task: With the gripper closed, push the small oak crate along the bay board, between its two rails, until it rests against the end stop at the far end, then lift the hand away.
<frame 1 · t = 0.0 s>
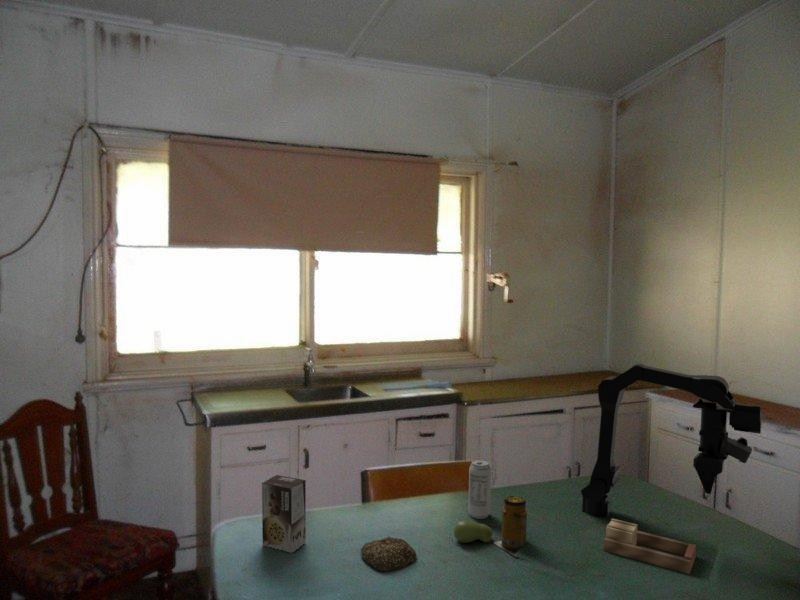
hand: (710, 487, 150), 15 cm above the table, fingers open, 9 cm apart
bay: (649, 558, 143), on the table
coffee box: (284, 545, 147), on the table
bread roll: (389, 558, 142), on the table
energy drink can: (479, 515, 166), on the table
pear: (473, 541, 151), on the table
crate: (621, 535, 146), point 4 cm above the table, slide at 0.0 cm
condiment: (515, 548, 148), on the table
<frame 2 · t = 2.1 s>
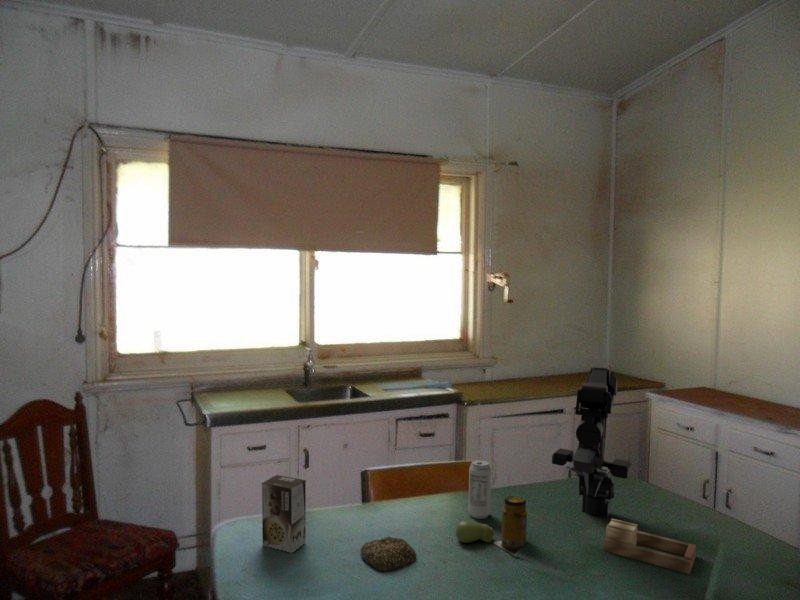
hand: (590, 495, 150), 12 cm above the table, fingers closed
nothing on the table moved.
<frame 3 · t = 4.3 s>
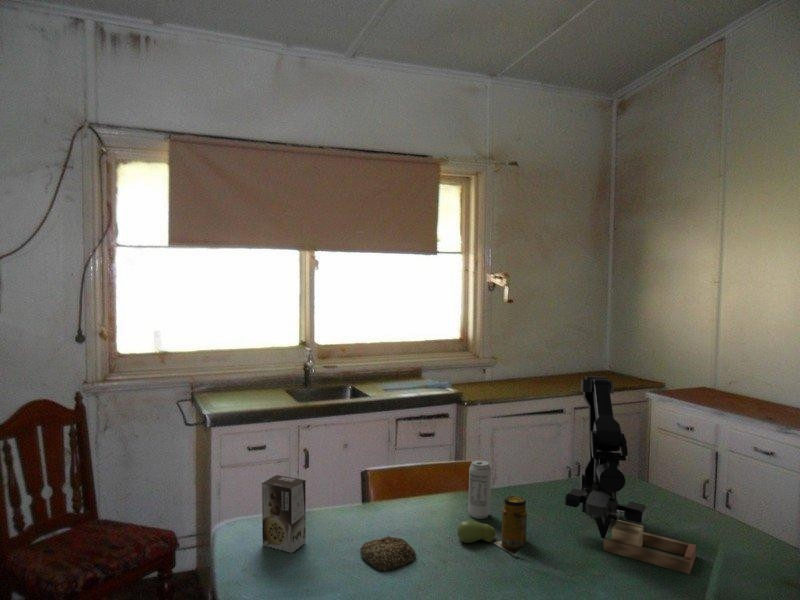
hand: (603, 538, 149), 2 cm above the table, fingers closed
crate: (627, 536, 146), point 4 cm above the table, slide at 1.4 cm, touching gripper
everything else where it was.
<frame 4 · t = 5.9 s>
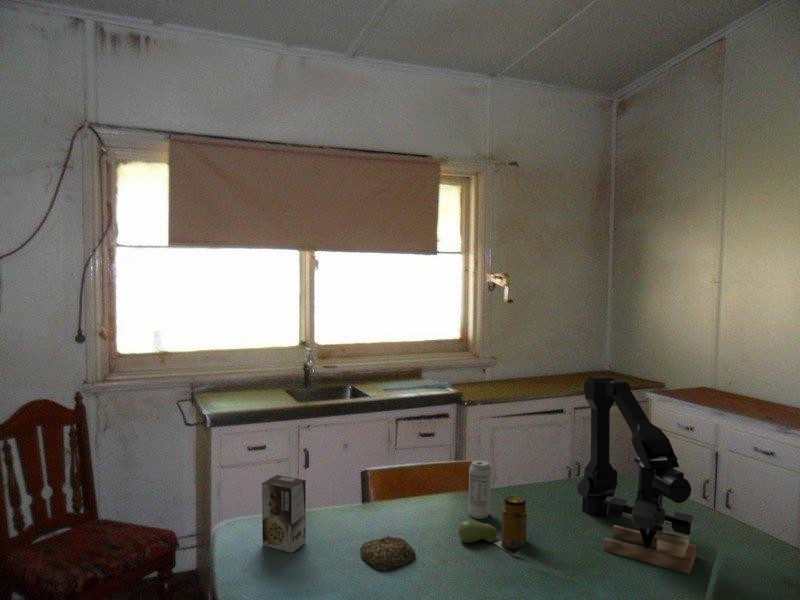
hand: (647, 549, 143), 2 cm above the table, fingers closed
crate: (672, 548, 140), point 4 cm above the table, slide at 11.6 cm, touching bay, gripper
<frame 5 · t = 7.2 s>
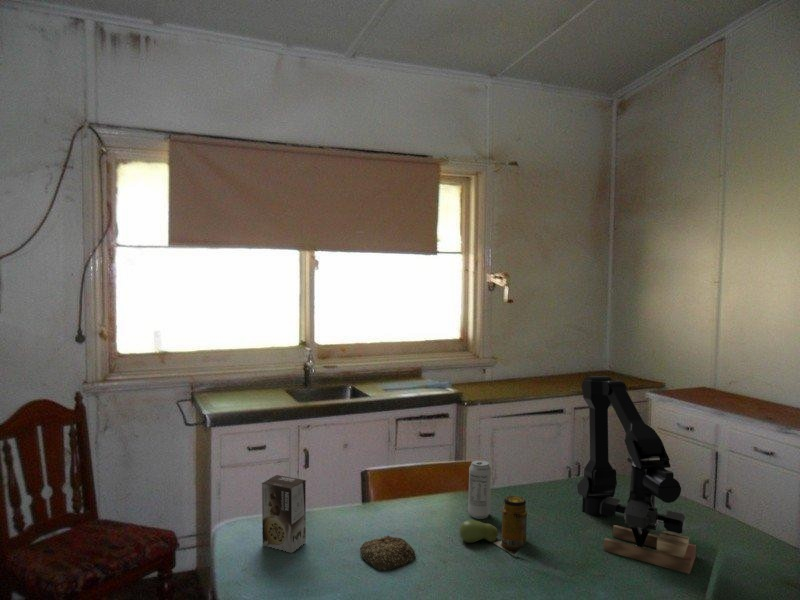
hand: (640, 548, 144), 2 cm above the table, fingers closed
crate: (672, 548, 140), point 4 cm above the table, slide at 11.6 cm, touching bay
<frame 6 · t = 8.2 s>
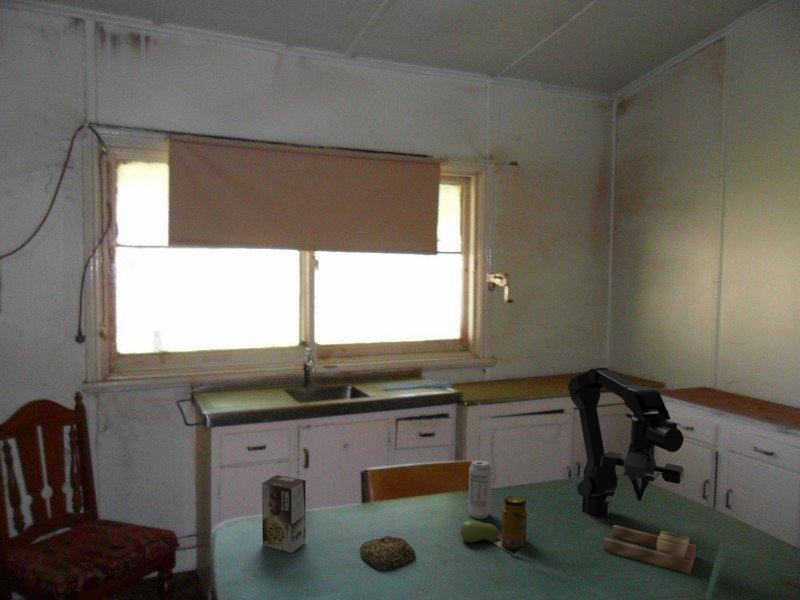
hand: (639, 500, 149), 12 cm above the table, fingers closed
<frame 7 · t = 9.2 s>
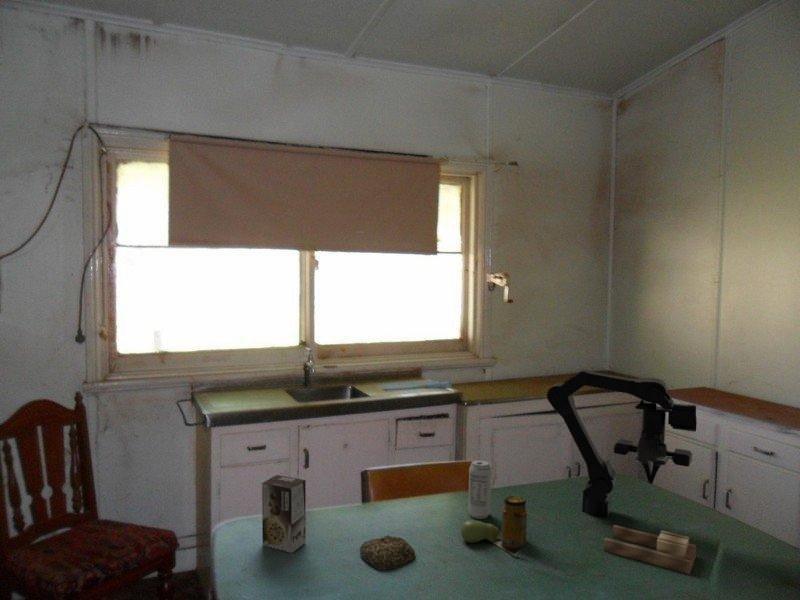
hand: (650, 483, 160), 12 cm above the table, fingers closed
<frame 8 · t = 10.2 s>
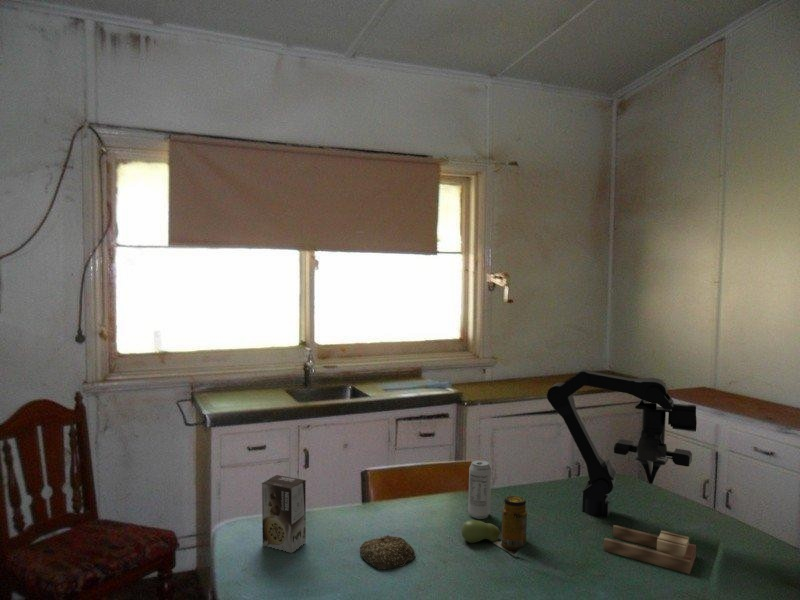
hand: (650, 483, 160), 12 cm above the table, fingers closed
at the end: crate slide at 11.6 cm; crate 0.6 cm from the target spot, point 4.0 cm above the table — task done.
